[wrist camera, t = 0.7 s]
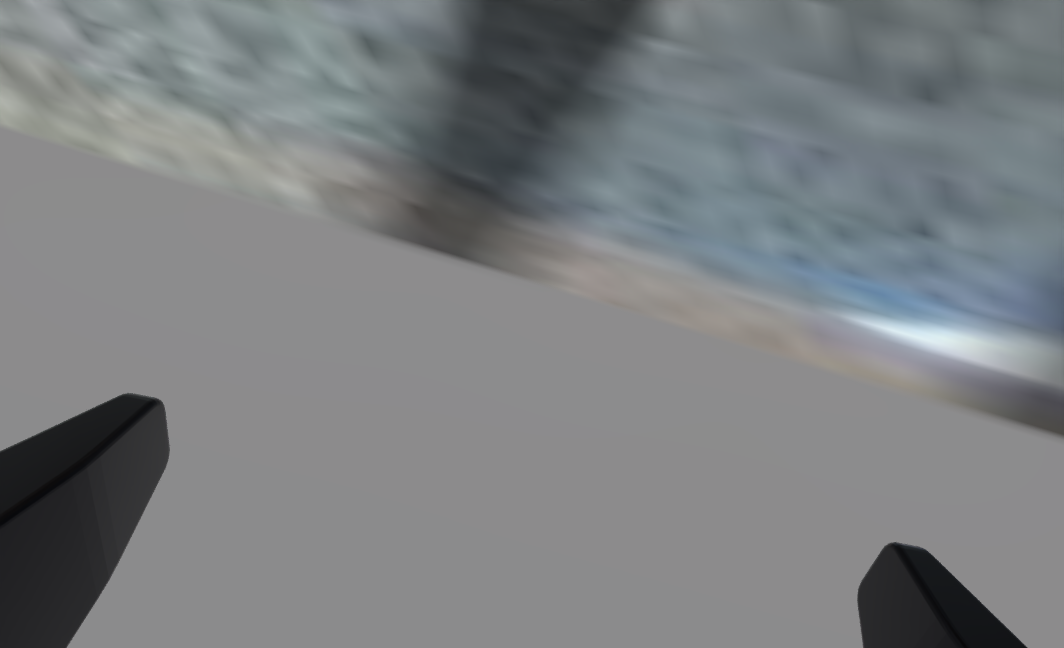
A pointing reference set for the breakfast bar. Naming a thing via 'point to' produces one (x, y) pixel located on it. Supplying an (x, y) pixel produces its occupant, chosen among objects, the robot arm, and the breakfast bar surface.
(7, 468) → the robot arm
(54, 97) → the breakfast bar surface
